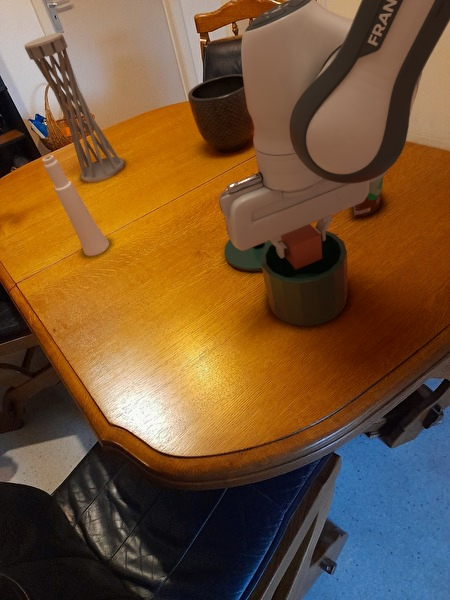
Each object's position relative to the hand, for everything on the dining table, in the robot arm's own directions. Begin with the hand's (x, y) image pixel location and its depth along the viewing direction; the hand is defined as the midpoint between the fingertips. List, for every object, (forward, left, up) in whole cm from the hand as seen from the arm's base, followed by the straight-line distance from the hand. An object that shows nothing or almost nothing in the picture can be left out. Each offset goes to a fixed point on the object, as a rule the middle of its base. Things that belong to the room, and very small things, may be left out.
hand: (301, 247), depth 60 cm
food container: (-16, -24, -11) cm, 31 cm away
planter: (+12, -65, -11) cm, 67 cm away
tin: (0, 0, -11) cm, 11 cm away
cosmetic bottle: (+44, -26, -11) cm, 52 cm away
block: (0, 0, -2) cm, 2 cm away
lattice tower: (+52, -67, -11) cm, 86 cm away
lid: (+7, -15, -10) cm, 19 cm away
